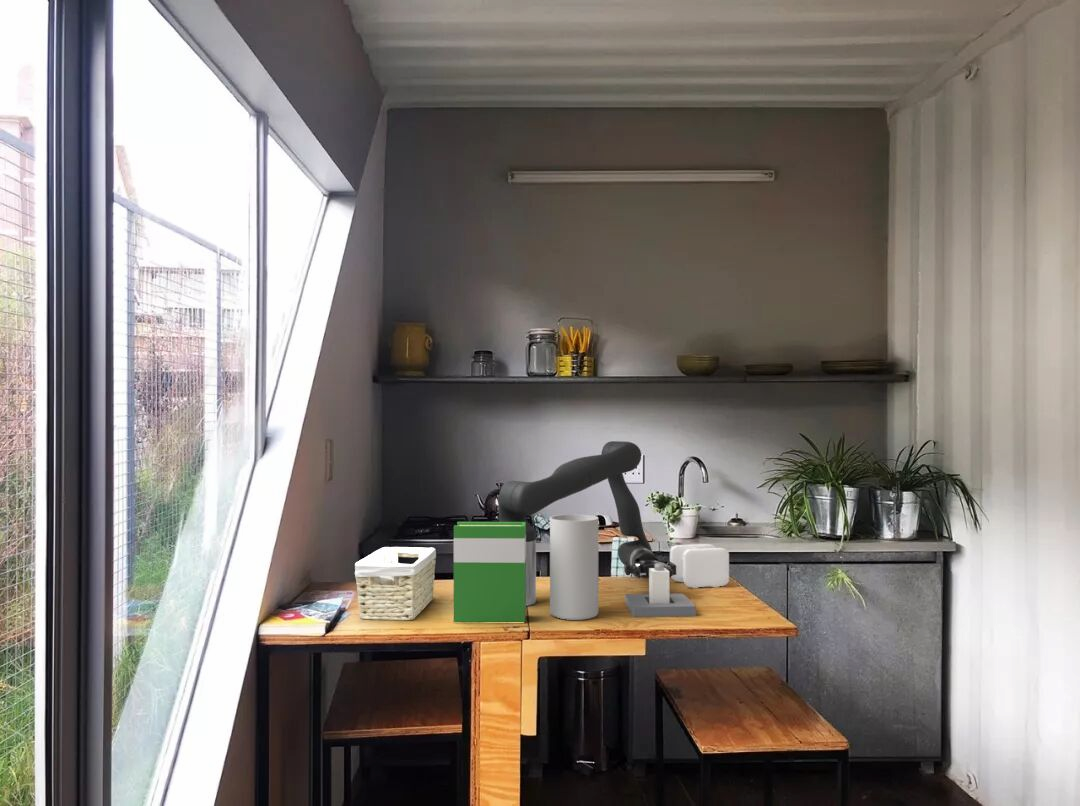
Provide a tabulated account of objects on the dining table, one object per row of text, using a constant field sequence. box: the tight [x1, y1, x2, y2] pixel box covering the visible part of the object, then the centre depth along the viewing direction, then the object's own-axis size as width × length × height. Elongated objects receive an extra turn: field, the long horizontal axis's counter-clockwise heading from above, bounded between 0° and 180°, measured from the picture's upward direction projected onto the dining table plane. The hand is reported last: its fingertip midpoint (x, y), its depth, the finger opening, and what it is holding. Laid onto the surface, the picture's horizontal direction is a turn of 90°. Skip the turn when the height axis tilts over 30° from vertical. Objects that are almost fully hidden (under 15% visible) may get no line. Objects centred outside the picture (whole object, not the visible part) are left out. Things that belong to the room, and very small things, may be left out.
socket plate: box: [624, 593, 697, 618], centre depth 202 cm, size 16×14×2 cm
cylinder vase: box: [549, 514, 599, 621], centre depth 197 cm, size 12×12×25 cm
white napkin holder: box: [669, 543, 730, 589], centre depth 232 cm, size 15×11×12 cm
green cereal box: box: [453, 521, 527, 623], centre depth 193 cm, size 18×7×24 cm, turn 88°
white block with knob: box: [648, 563, 670, 603], centre depth 202 cm, size 4×4×12 cm
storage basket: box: [354, 546, 437, 621], centre depth 202 cm, size 24×16×15 cm
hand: (654, 573), depth 208 cm, fingers open, 8 cm apart
